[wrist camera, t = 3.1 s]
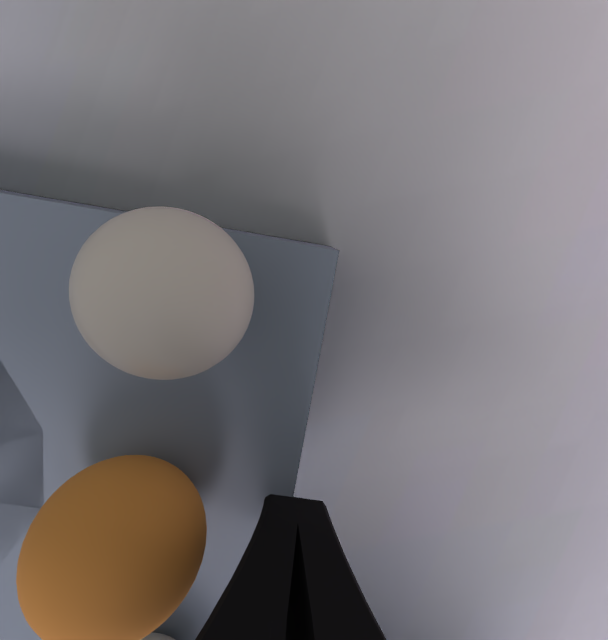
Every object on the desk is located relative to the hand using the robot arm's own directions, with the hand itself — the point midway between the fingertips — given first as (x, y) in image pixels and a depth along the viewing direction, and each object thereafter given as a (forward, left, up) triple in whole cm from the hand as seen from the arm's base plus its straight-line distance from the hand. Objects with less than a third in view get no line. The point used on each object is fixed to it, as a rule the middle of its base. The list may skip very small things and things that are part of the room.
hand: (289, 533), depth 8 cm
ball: (+3, 0, +1) cm, 4 cm away
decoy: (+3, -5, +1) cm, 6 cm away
